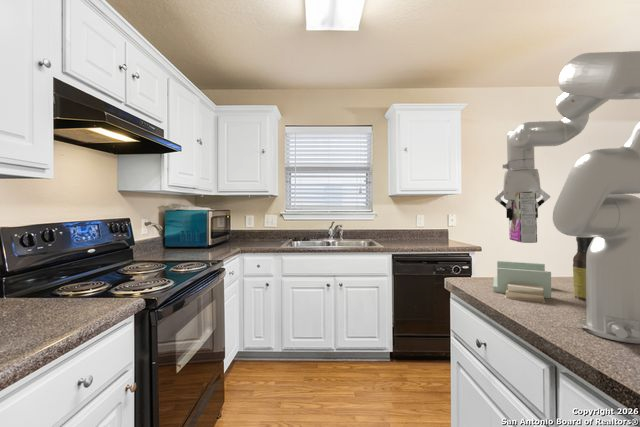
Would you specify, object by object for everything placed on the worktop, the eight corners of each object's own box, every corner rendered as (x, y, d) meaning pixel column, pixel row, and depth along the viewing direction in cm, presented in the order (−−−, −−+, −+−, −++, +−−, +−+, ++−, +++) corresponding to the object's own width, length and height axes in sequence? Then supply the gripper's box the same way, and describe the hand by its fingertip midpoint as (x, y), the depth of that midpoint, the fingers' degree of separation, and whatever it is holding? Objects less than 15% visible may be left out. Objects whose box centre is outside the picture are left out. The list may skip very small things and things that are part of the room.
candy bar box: (508, 239, 105) (507, 193, 105) (524, 239, 104) (523, 193, 104) (519, 242, 95) (518, 191, 95) (538, 242, 93) (536, 190, 93)
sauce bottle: (597, 301, 90) (597, 235, 89) (605, 307, 84) (605, 237, 84) (570, 298, 93) (570, 235, 92) (576, 304, 87) (576, 237, 87)
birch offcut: (544, 302, 86) (544, 296, 86) (505, 297, 91) (505, 291, 91) (543, 298, 90) (543, 292, 90) (506, 293, 95) (506, 288, 95)
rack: (551, 302, 90) (551, 272, 90) (493, 295, 98) (493, 268, 97) (544, 289, 103) (544, 263, 103) (493, 284, 111) (493, 260, 111)
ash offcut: (543, 295, 86) (543, 289, 86) (507, 291, 91) (507, 285, 91) (543, 292, 90) (543, 286, 90) (509, 288, 95) (509, 282, 95)
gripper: (490, 167, 101) (492, 220, 100) (555, 162, 92) (556, 220, 92) (491, 170, 107) (492, 220, 107) (551, 165, 98) (552, 219, 98)
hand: (521, 219), depth 99 cm, fingers closed on candy bar box, 5 cm apart
